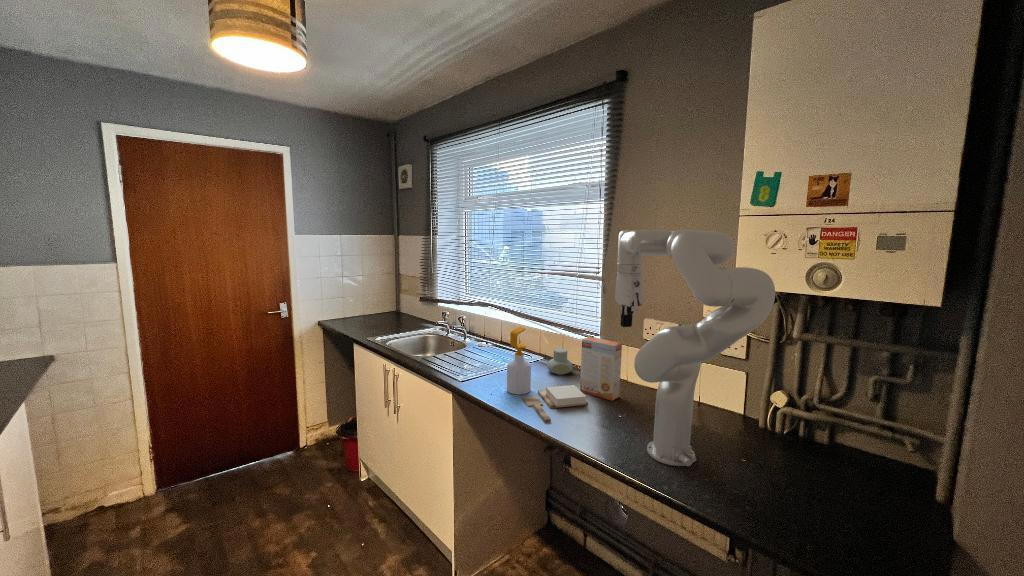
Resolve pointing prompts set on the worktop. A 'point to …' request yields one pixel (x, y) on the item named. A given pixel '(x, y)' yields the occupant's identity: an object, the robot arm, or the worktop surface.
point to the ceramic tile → (565, 396)
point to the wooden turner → (537, 407)
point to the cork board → (547, 400)
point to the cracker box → (601, 368)
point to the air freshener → (560, 362)
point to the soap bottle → (518, 368)
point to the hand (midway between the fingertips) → (626, 326)
